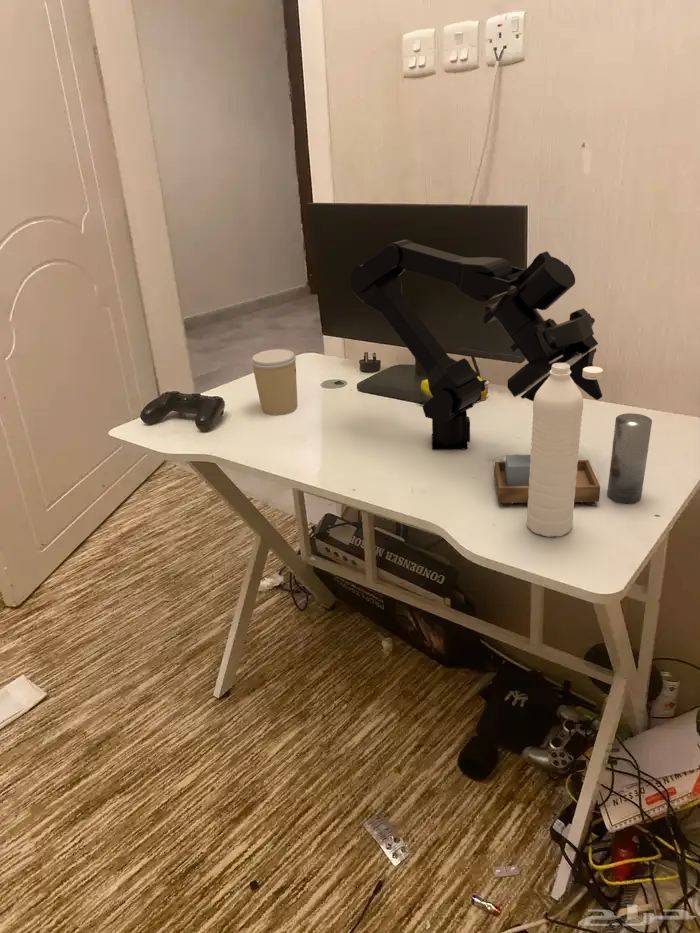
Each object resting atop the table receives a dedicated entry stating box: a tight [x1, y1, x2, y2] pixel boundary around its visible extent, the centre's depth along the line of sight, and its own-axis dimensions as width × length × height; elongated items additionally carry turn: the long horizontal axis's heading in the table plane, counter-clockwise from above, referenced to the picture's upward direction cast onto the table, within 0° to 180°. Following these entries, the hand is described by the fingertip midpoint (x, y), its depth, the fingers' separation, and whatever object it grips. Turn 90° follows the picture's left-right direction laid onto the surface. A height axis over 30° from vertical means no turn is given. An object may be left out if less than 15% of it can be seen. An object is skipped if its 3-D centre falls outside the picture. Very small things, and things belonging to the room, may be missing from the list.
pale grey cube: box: [505, 454, 531, 486], centre depth 110 cm, size 4×4×4 cm
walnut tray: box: [493, 459, 601, 507], centre depth 110 cm, size 15×9×3 cm, turn 84°
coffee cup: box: [251, 348, 298, 417], centre depth 148 cm, size 9×9×12 cm
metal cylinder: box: [606, 412, 653, 505], centre depth 106 cm, size 5×5×13 cm
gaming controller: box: [420, 375, 490, 404], centre depth 147 cm, size 15×6×10 cm
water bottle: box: [526, 363, 604, 538], centre depth 96 cm, size 9×6×25 cm
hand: (586, 407), depth 107 cm, fingers open, 9 cm apart
